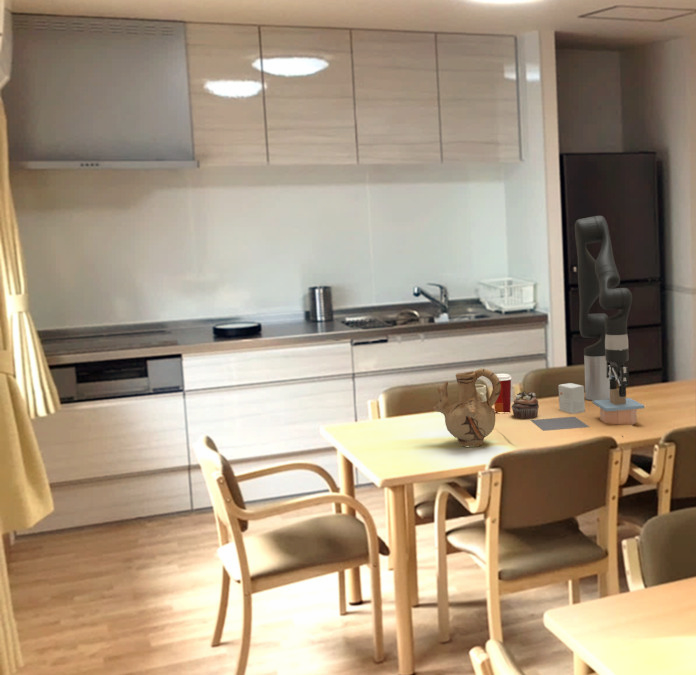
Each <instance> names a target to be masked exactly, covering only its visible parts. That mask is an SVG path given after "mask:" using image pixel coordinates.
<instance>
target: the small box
mask: <svg viewBox="0 0 696 675" xmlns="http://www.w3.org/2000/svg"><path fill="white" fill-rule="evenodd" d="M585 401H586V400H585V385H581V384H577V383H573V382H568V383H562V384H558V406H559V411H562V412H564V413H568V414H572V415H573V414H579V413H580V414H581V413H585V412H586V408H585V406H586V404H585Z"/></svg>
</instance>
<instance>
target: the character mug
mask: <svg viewBox="0 0 696 675" xmlns="http://www.w3.org/2000/svg"><path fill="white" fill-rule="evenodd" d="M475 387H476V391H477V392H478V393H479V395H480V397H481V398H482V402H485V401H487V400H488V399H487V386H486V385H485V384H479V383H478V384H476V383H475Z"/></svg>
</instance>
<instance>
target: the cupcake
mask: <svg viewBox="0 0 696 675" xmlns="http://www.w3.org/2000/svg"><path fill="white" fill-rule="evenodd" d="M511 410H512V414H513V418H515V419H520V420H533V419H536V418H537V417H538V412H539V399H537V397H536V393H535V392H533V391H532V392H526V391H522V392H519V393H517V394H516V395H515V398H514V400H513V403H512V405H511Z"/></svg>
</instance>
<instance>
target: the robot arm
mask: <svg viewBox="0 0 696 675" xmlns="http://www.w3.org/2000/svg"><path fill="white" fill-rule="evenodd" d="M574 234H575V236H574V238H575V245H576V254H577V283H578V294H579V295H578V296H579V316H578V317H579V322H578V323H579V326H578V327H579V334H580V336H581V337H582V338H585V339H586V338H587V339H590V338H594V339H595V338H599V340H598V341H596V342H595V343H593V344H591V345H588V346H586V347H584V349H583V356H584V357H583V358H584V360H583V362H584V399H585V400H587V401H595V400H608V399H610V389H619V396H620V397H625V396H626V397H627V386H628V385H630V374H629V367H628V366H625V363H626V362H628V361H629V337H628V318H629V314H630V310H631V306H632V303H633V295H632V292H631V290H630V289H629V288H627V287H618V286H619V285H620V283H621V278H620V273H619V271H618V268H617V266H616V263H615V262H616V261H615V258H614V252H613V246H612V241H611V235H610V230H609V226H608V222H607V220H606V218H605V217H604V216H603V215H594V216H589V217H584V218H578V219H577V220H576V221H575V224H574ZM600 242H601V247H600V251H599V252H598V253H599V254H598V255H597V258H596V259H595V258H594V257H593V256H592V254H591V253H590V252H589V250H588V248H587V244H595V243H600ZM617 287H618V288H617ZM598 298H599V300H598V303H599V305H600V307H601V308H602V309H603V310H605V311H610V310H611V311H612V310H617V313H616V314H614V315H611V316H608V314H606V313H604V312H603V313H590V309H591V308H592V306H593V304H594V303H595V302H596V300H597V299H598ZM617 384H618V388H617Z"/></svg>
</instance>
